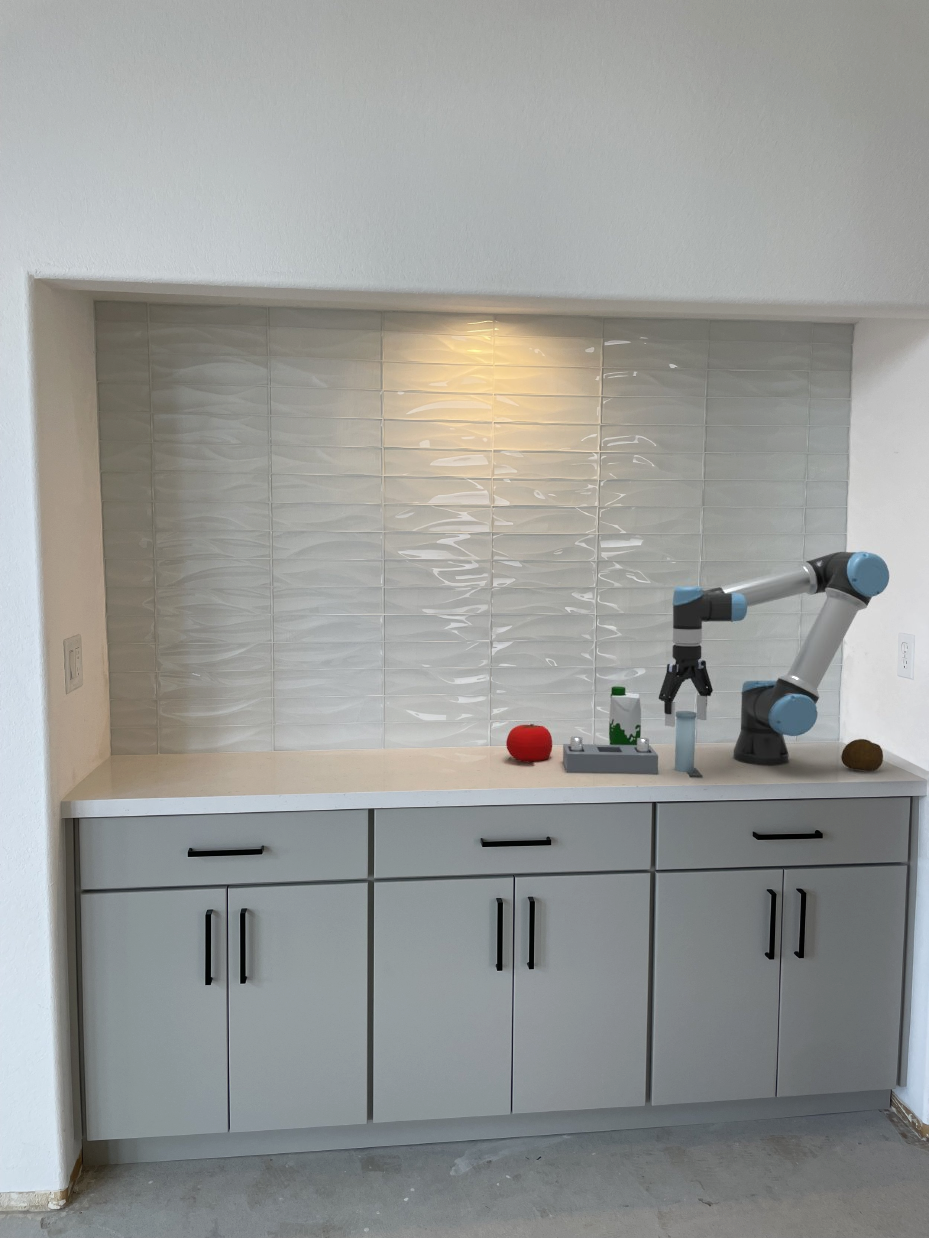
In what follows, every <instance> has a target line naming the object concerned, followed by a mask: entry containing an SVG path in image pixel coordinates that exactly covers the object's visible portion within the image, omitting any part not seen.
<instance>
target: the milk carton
mask: <svg viewBox="0 0 929 1238" xmlns="http://www.w3.org/2000/svg"><path fill="white" fill-rule="evenodd" d="M610 689H611V693H610V705H609V716H608V717H609V721H608V723H609V724H608V725H609V726H608V737H609V738H608V741H609V745H637V738H641V734H642V733H641V732H642V707H641V706H642V704H641V697H640V693H635V692H634V693H631V692H626V687H625V686H612V687H611V688H610Z"/></svg>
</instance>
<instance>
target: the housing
mask: <svg viewBox="0 0 929 1238" xmlns="http://www.w3.org/2000/svg"><path fill="white" fill-rule="evenodd" d="M562 745H563V746H562V747H563V748H562V763H563V767H564V768H565V772H566V773H568V774H573V773H574V774H619V775H620V774H622V775H658V773H659V771H658V769H659V755H658V753H657V752H656V751H655V750H654V748H653V747H652V746H651V745H650V744H649V753H637V745H610V744H590V743H587V744H585V743H584V744H583V743H582V752H571V751H570V743H563V744H562Z"/></svg>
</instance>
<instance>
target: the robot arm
mask: <svg viewBox="0 0 929 1238" xmlns="http://www.w3.org/2000/svg"><path fill="white" fill-rule="evenodd" d="M889 581H890V571H889V568H888V565H887V563H886V561H885V560H884V559H883V558H882V557H881V556H880V555H878V554H876V553H872V552H867V551H857V552H855V551H854V552H853V551H851V552H850V551H849V552H848V551H838V552H833V553H829V554H826V555H823V556H821V557H820V556H819V557H817V558H813V559H811V560H806V561H803V562H801V563H800V564H799V566H798V567H794V568H789V569H786V570H781V571H778V572H773V573H769V574H765V575H762V576H758V577H753V578H749V579H745V580H743V581H737V582H733V583H728V584H725V585H722V586H719V587H713V588H710V589H707V590H706V589H705V590H703V588H702V587H701V586H687V585H686V586H676V587H675V588H674V589H673V598H672V643H673V645H672V658H673V659H674V660H675V663H674V664H673V663H668V664H666V673H665V676H664V680H663V682H662V685H661V688H660V692H659V695H658V699H659V700H660V701H661V702H663V703H664V705H663V707H664V709H663V711H664V726H666V727H671V728H676V701H674V700H675V698H676V696H677V694H678V692H679V690H680V688H681V686H682V684H683V683H684V682H685V681H687V680H689V679H690V680H691V682H692V684H693V686H694V688H695V689H696V691H697V693H698V694H699V695H697V694H696V720H702V721H707V708H708V707H707V706H708V697H711V696H712V693H713V691H714V689H713V686H712V683H711V679H710V676H709V673H708V669H707V661H706V660H704V659H703V660H702V659H701V658H702V645H700V644H702V643H703V632H702V631H703V629H702V628H703V623H704V622H705V623H707V622H710V623H711V622H713V623H714V622H715V623H717V622H731V623H733V622H742V621H743V620H744V619H745V618H746V616H747V613H748V608H749V607H752V606H757V605H761V604H765V603H769V602H773V601H777V600H781V599H785V598H789V597H793V596H798V595H802V594H808V595H809V596H810V595H816V594H821V593H822V594H823V593H825V595H826V599H825V601H824V603H823V604H822V607H821V609H820V610H819V613H818V614H817V617H816V618H815V620H814V622H813V624H812V626H811V628H810V630H809V632H808V633H807V635H806V637H805V639H804V641H803V643H802V645H801V647H800V649H799V651H798V652H797V655H796V656H795V658H794V660H793V662H792V664H791V666H790V668H789V670H788V671H787V673H786V674H785V675H782V676H779V677H778V678H777V680H746V681H744V682H743V683H742V686H741V687H742V688H741V689H742V690H741V692H740V693H741V705H740V706H741V713H740V714H741V715H740V732H739V735H738V738H737V740H736V743H735V744H734V747H733V755H732V756H733V758H734V759H735V760H737V761H739V762H743V763H746V764H752V765H760V766H761V765H762V766H779V765H785V764H788V762H789V756H790V755H789V750H788V747H787V744H786V741H785V737H784V736H788V737H789V736H790V737H796V736H797V737H798V736H801V735H804V734H805V733H808V732H809V731H810V730H811V729H812V728H813V727H814V725H815V724H816V722H817V720H818V713H819V712H818V710H817V708H818V707H817V703H818V701H819V699H820V695H819V691H818V688H819V686H820V685H821V682H822V680H823V678H824V677H825V675H826V672H827V670H828V669H829V667H830V665H831V663H832V661H833V659H834V657H835V656H836V653H837V652H838V650H839V648H840V646H841V644H842V642H843V640H844V638H845V636H846V634H847V632H848V631H849V629H850V627H851V625H852V623H853V621H854V619H855V617H856V615H857V613H858V612H859V611H861V610H865V609H867V608H868V605H869V604H870V603H871V600H872V598H873V597H876V596H878V595H880V594H882V593H883V592H884V591H885V590H886V588H887V586H888V585H889Z"/></svg>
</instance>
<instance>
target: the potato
mask: <svg viewBox="0 0 929 1238" xmlns="http://www.w3.org/2000/svg"><path fill="white" fill-rule="evenodd" d="M883 751H884V750H883V749H882V748H881V746H880V744H878V743H875V742H872V741H871V740H868V739H865V738H859V739H854V740H851V741H850V742H848V743H847V744H846V745H845V746H844V748H843V749H842V752H841V755H840V758H841V759H840V760H841V763H842V764H843V765H844V766H845V767H846V768H848V769H852V770H855V771H864V772H871V771H872V772H873V771H876V770H878V769H879V768H880V767H881V766H882V764H883V761H884V752H883Z"/></svg>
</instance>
